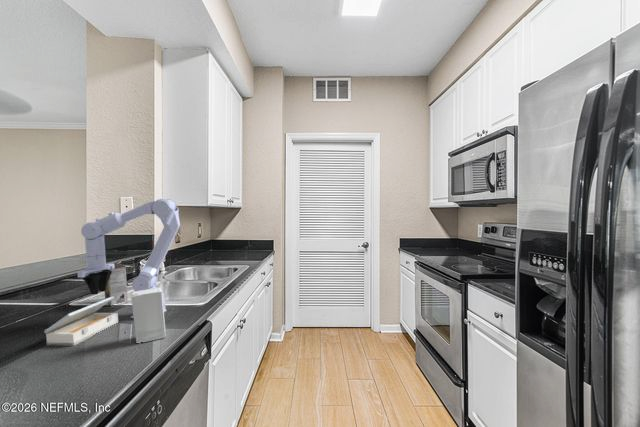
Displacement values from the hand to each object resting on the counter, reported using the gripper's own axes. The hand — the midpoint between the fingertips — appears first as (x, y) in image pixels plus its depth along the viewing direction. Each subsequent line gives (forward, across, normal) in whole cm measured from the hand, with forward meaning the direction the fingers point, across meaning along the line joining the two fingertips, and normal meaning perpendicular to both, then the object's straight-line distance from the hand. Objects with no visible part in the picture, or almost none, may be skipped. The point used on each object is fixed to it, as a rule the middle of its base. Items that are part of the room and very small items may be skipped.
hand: (98, 292), depth 119 cm
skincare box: (+10, +15, +30) cm, 35 cm away
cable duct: (+10, +12, +5) cm, 16 cm away
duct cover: (+4, +12, +5) cm, 13 cm away
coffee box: (+10, -19, -9) cm, 23 cm away
